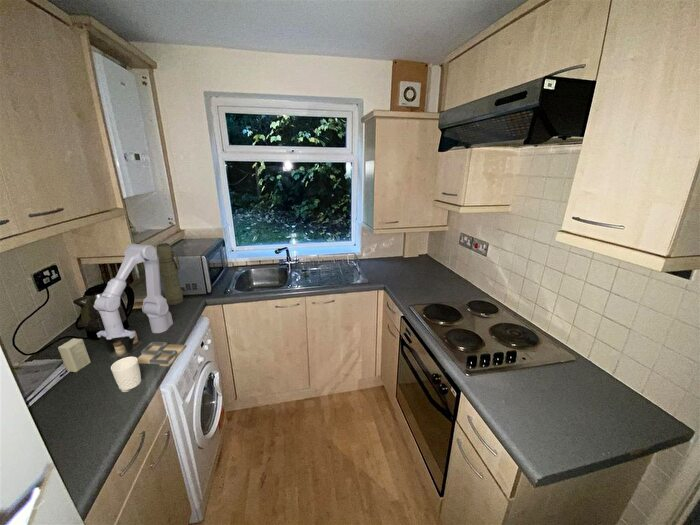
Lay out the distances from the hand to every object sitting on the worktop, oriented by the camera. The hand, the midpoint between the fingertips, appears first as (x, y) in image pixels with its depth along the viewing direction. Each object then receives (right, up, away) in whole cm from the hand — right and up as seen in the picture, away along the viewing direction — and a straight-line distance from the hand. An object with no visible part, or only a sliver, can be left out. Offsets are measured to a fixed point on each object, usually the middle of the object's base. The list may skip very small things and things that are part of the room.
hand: (121, 351), depth 125 cm
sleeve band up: (0, -1, 0) cm, 1 cm away
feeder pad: (0, -1, +4) cm, 4 cm away
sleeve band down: (0, +1, +7) cm, 7 cm away
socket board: (+16, -2, +1) cm, 16 cm away
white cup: (+15, -8, -15) cm, 23 cm away
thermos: (-5, +15, +48) cm, 50 cm away
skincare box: (-11, -5, -7) cm, 14 cm away
